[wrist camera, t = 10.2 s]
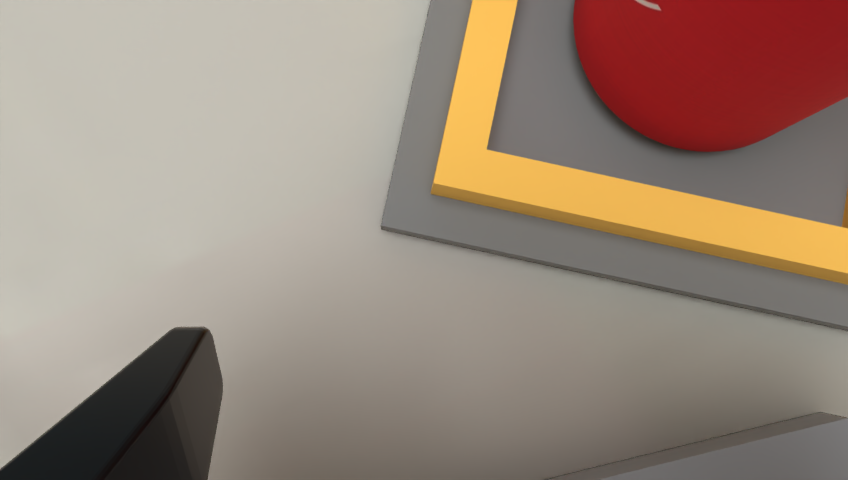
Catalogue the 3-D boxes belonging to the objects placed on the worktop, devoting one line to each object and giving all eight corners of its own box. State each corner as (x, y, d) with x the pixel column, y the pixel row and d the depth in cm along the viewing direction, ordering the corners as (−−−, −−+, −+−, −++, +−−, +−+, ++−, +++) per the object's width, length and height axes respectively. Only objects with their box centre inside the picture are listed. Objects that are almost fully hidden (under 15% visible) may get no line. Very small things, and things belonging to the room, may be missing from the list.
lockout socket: (886, 338, 20) (950, 340, 17) (381, 229, 20) (379, 217, 17) (956, -137, 21) (1024, -192, 19) (485, -243, 21) (497, -312, 19)
